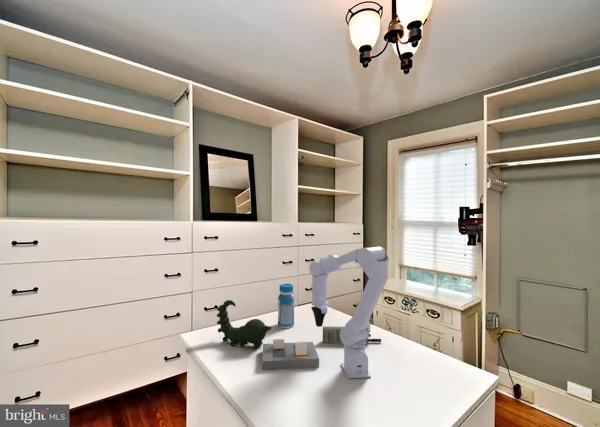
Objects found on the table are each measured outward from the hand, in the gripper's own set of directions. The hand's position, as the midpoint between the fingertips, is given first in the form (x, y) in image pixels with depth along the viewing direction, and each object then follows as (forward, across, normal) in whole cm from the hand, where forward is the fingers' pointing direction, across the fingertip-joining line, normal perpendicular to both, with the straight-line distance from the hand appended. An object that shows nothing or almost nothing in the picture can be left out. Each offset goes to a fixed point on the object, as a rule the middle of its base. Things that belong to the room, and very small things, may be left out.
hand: (319, 325), depth 112 cm
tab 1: (+7, +1, +16) cm, 17 cm away
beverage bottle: (+11, +31, +8) cm, 34 cm away
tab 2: (+7, -6, +9) cm, 13 cm away
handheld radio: (+11, +6, -16) cm, 21 cm away
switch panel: (+10, -3, +12) cm, 16 cm away
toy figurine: (+11, +13, +29) cm, 33 cm away
